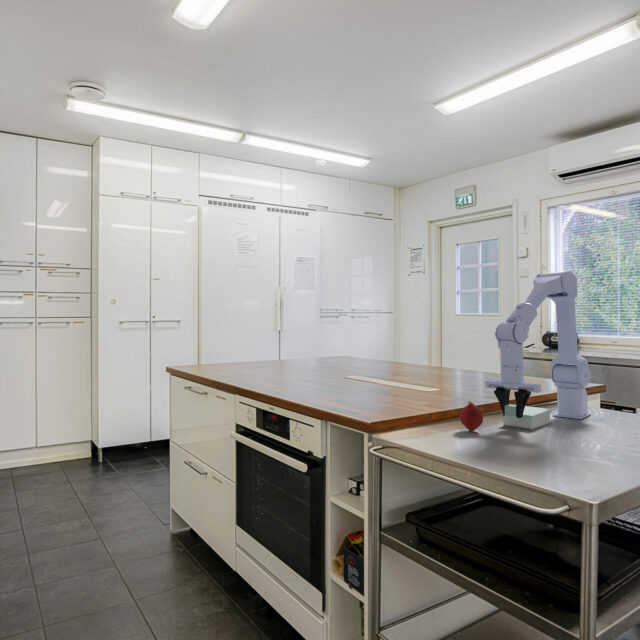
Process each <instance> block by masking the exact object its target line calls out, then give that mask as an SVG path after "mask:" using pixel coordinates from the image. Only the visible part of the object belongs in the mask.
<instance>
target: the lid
mask: <svg viewBox="0 0 640 640" xmlns="http://www.w3.org/2000/svg"><path fill="white" fill-rule="evenodd" d="M547 413H550V414H551V413H552V409H551V408H545V407H537V406H527V405H525V408H524V412H523V417H522V418H530V419H534V418H537V417H539V416H542V415H545V414H547ZM501 415H502V416H503V413H502V412H501ZM504 418H505V419H512V420H517V419H520V418H517V415H516V404H512V403H509V405H505V415H504Z"/></svg>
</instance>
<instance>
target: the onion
mask: <svg viewBox="0 0 640 640" xmlns="http://www.w3.org/2000/svg"><path fill="white" fill-rule="evenodd" d="M459 418H460V423H461V424H462V426H464V427H465V428H466V429H467V430H468V431H469V432H474V431H475V430H477V429H478V428H479V427H481V425H482V423H483V421H484V415H483V412H482V411H481V409H480V408H479V407H478V406H476V404H474V403H473V402H472V401H470V400H469V401H468V402H467V405H466V406H465V407H463V408H462V409H461V412H460V413H459Z"/></svg>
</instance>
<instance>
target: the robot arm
mask: <svg viewBox="0 0 640 640" xmlns="http://www.w3.org/2000/svg"><path fill="white" fill-rule="evenodd" d="M577 279H578V278H577V276H576V275H575V274H574V272H572V271H571V270H569V269H568V270H564V271H554V272H539V273H537V274H536V276H535V278H534V279H533V282H532V283H533V288H532V290H531V291H530V294H529V295H528V297H527V298H526V300H525V301H524V302H520V303H518V304H517V305H516V306H515V308H514V310H513V311H512V312H511V313H510V315H509V316H508V317H507V319H506V320H505V321H502V322H500V323H499V324H498V325H497V326H496V330H495V331H494V336H495V339H496V340H497V347H498V349H499V351H500V352H499V353H500V355H499V356H500V360H499V361H500V380H493V379H492V380H491V379H488V380H485V381H484V382H485V388H486V389H489V388H491V389H495V390H493V394H494V395H495V397H496V399H497V401H498V403H499V406H500V408H501V409H500V410H501V414H502V413H503V415H502V416H504V415H505V405H509V404H510V395H511V390H512V391H514V392H513V393H514V394H513V395H514V398H515V405H516V415H517V418H522V417H523V412H524V408H525V406H527V402H528V400H529V398H530V397H531V394H532V393H533V392H534V393H541V392H542V385H541V384H539V383H532V382H526V381H524V379H525V378H524V377H525V375H524V343H525V342H526V341H527V340H528V335H529V331H530V326H531V325H532V323H533V322H534V320H535V319H536V318H537V315H538V310H537V309H538V308H539V307H540V305H542V303H543V302H544V301H546V298H547V299H550V300H552V301H553V303H554V304H555V313H556V314H555V315H556V318H555V319H556V331H557V332H556V333H557V350H558V355H556V356H555V357H554V358H553V359H552V360H551V361H550V362H551V367H550V370H549V376H550V380H551V382H552V383H554V386H555V387H556V398H557V399H556V401H557V403H556V404H557V412H554V413H553V414H551V415H552V416H553V417H558V418H559V417H562V418H568V419H574V420H575V419H576V420H581V419H585V418H586V417H588V416H591V415H592V412H588V407H589V406H588V393H587V390H586V388H587V386H588V385H589V384H590V382H591V377H592V373H591V369H590V368H589V367H590V366H589V360H588V359H586V358H585V357H583V356H581V355H580V354H579V353H578V352H579V351H578V336H577V335H578V334H577V316H576V300H575V299H576V298H578V280H577Z"/></svg>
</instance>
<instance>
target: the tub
mask: <svg viewBox="0 0 640 640" xmlns="http://www.w3.org/2000/svg"><path fill="white" fill-rule="evenodd" d="M502 416H503V415H502ZM502 418H503V419H502V420H503V426H506V427H511V428H512V427H513V428H518V429H523V430H524V429H525V430H531V431H532V430H535V429H538V428H540V427H543V426H545V425H548V424H550V423H551V412H550V413H547V414H545V415H542V416H539V417H537V418H534V419H530V418H520V419H517V420H512V419H505V418H504V416H503V417H502Z"/></svg>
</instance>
